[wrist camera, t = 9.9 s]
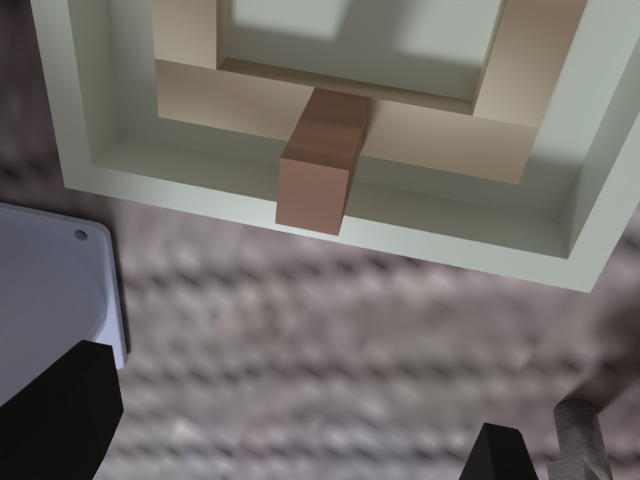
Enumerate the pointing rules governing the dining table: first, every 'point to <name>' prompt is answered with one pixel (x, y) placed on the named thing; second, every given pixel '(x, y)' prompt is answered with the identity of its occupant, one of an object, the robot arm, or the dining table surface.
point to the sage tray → (371, 173)
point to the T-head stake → (579, 444)
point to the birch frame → (363, 104)
